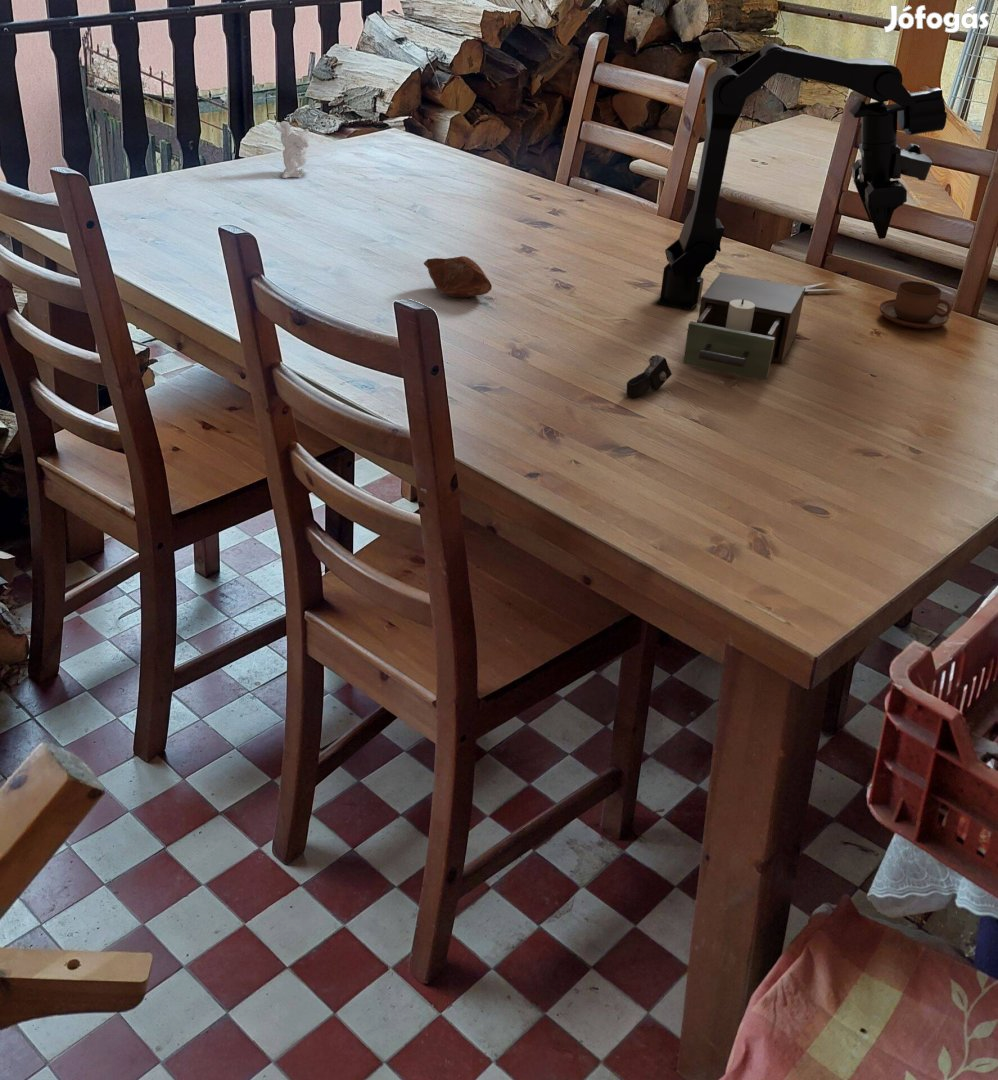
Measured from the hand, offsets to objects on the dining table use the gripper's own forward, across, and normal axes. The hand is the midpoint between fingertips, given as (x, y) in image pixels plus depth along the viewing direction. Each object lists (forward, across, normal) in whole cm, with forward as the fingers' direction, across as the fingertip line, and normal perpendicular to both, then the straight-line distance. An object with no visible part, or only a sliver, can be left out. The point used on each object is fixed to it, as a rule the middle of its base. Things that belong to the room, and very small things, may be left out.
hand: (877, 229), depth 207 cm
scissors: (+12, +5, +14) cm, 20 cm away
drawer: (+8, -32, +28) cm, 43 cm away
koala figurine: (-8, +58, +120) cm, 133 cm away
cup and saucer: (+16, -4, -6) cm, 18 cm away
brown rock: (0, -10, +74) cm, 75 cm away
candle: (+7, -30, +27) cm, 41 cm away
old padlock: (+6, -44, +41) cm, 60 cm away
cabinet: (+10, -20, +25) cm, 33 cm away
